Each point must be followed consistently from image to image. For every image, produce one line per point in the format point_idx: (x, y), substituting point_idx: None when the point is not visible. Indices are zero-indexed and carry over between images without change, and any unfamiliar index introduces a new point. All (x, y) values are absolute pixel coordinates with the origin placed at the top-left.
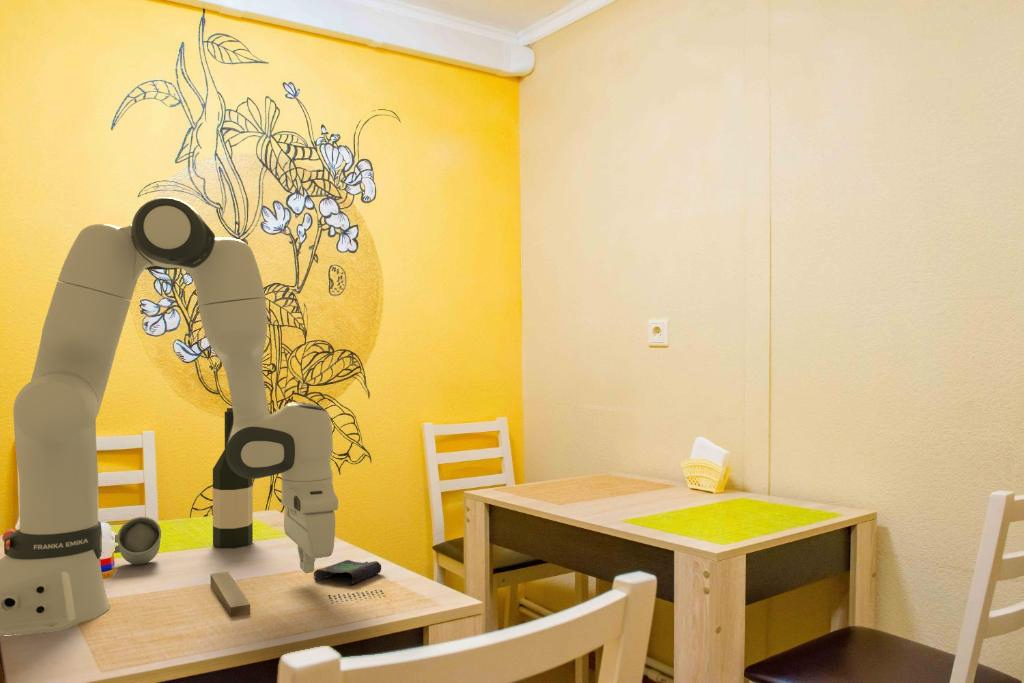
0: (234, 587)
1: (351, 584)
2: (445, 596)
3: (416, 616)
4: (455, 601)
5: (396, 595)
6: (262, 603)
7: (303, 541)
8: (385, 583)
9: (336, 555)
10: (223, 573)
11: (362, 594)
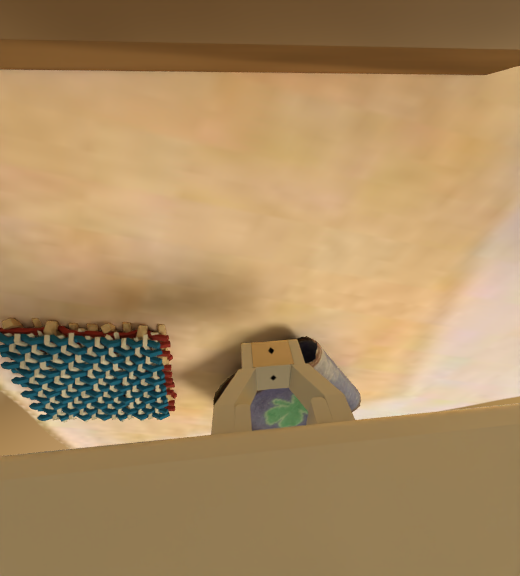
0: (268, 12)
1: (221, 389)
2: None
3: (47, 426)
4: None
5: (175, 419)
6: (232, 174)
7: (118, 518)
8: None
9: (465, 382)
10: None
11: (145, 395)
